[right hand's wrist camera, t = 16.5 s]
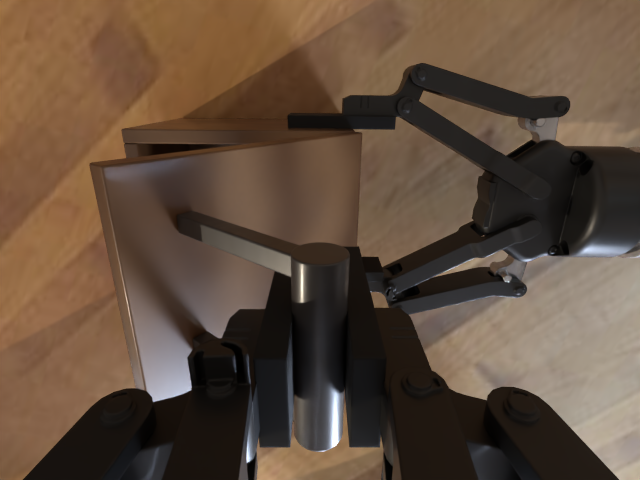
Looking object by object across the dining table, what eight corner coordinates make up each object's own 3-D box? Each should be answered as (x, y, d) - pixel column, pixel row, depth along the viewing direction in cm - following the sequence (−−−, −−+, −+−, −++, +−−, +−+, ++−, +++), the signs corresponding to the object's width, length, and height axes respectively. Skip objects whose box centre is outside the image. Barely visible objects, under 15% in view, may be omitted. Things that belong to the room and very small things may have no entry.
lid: (140, 411, 15) (282, 552, 10) (87, 162, 11) (268, 212, 7) (344, 285, 25) (462, 328, 20) (349, 131, 21) (494, 143, 17)
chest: (193, 231, 34) (147, 281, 25) (179, 118, 31) (120, 128, 22) (341, 232, 34) (349, 283, 25) (344, 119, 31) (355, 131, 22)
